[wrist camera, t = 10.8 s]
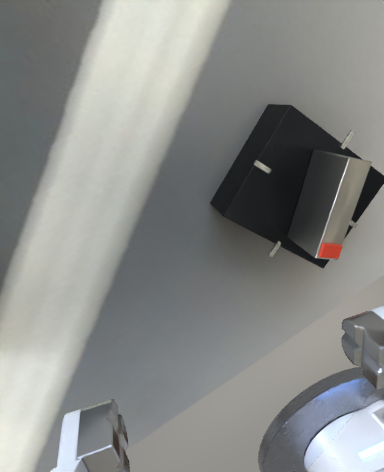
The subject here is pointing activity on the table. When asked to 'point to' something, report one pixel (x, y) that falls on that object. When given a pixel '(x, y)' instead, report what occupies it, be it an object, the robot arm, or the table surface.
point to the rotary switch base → (281, 176)
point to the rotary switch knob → (327, 203)
